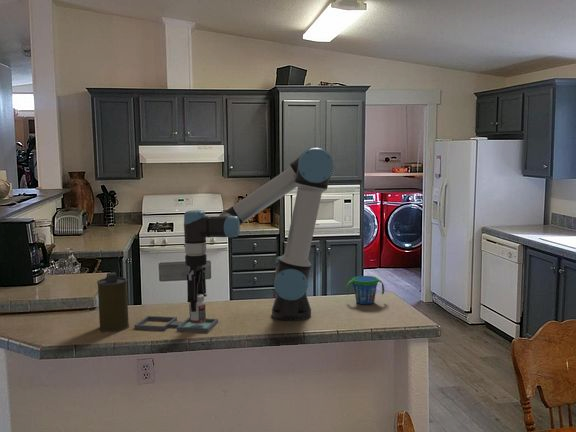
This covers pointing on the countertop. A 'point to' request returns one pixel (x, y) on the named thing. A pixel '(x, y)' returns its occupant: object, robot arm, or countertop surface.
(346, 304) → the countertop surface
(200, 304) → the pill bottle
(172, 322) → the double square frame
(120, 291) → the canister
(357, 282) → the snack cup
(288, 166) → the robot arm
